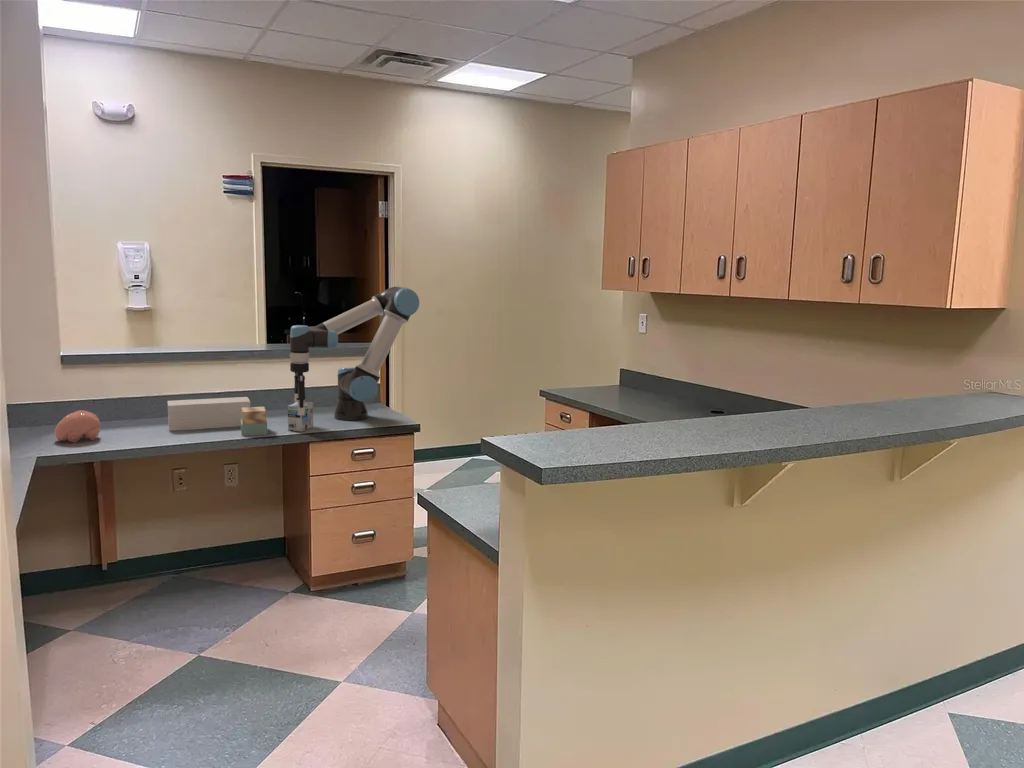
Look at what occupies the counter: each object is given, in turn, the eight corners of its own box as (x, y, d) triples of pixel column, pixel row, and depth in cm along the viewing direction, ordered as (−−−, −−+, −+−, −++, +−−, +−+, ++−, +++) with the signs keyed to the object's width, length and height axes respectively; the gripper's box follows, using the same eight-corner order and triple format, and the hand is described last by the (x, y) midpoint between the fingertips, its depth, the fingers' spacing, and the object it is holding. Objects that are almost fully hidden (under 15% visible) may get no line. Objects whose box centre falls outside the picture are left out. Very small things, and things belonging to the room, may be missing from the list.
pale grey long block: (248, 420, 326) (247, 396, 324) (251, 425, 317) (250, 401, 315) (168, 425, 313) (167, 400, 311) (169, 431, 303) (167, 405, 301)
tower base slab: (266, 429, 312) (265, 418, 311) (267, 435, 303) (267, 423, 302) (240, 430, 308) (240, 419, 307) (241, 436, 299) (241, 424, 298)
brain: (61, 455, 278) (44, 427, 274) (68, 446, 290) (51, 419, 286) (104, 436, 282) (87, 408, 278) (109, 428, 294) (93, 401, 290)
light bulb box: (302, 431, 308) (301, 406, 306) (287, 430, 310) (286, 405, 308) (314, 426, 319) (313, 401, 317) (299, 425, 320) (299, 400, 318)
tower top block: (264, 418, 310) (264, 406, 310) (266, 422, 302) (265, 410, 301) (241, 419, 307) (241, 407, 306) (242, 424, 299) (242, 412, 298)
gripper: (287, 358, 319) (287, 406, 323) (293, 366, 296) (293, 418, 300) (305, 358, 322) (305, 405, 325) (312, 366, 299) (312, 417, 303)
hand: (299, 411), depth 313 cm, fingers open, 13 cm apart
